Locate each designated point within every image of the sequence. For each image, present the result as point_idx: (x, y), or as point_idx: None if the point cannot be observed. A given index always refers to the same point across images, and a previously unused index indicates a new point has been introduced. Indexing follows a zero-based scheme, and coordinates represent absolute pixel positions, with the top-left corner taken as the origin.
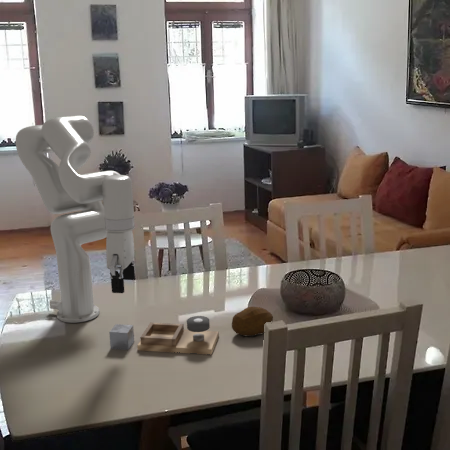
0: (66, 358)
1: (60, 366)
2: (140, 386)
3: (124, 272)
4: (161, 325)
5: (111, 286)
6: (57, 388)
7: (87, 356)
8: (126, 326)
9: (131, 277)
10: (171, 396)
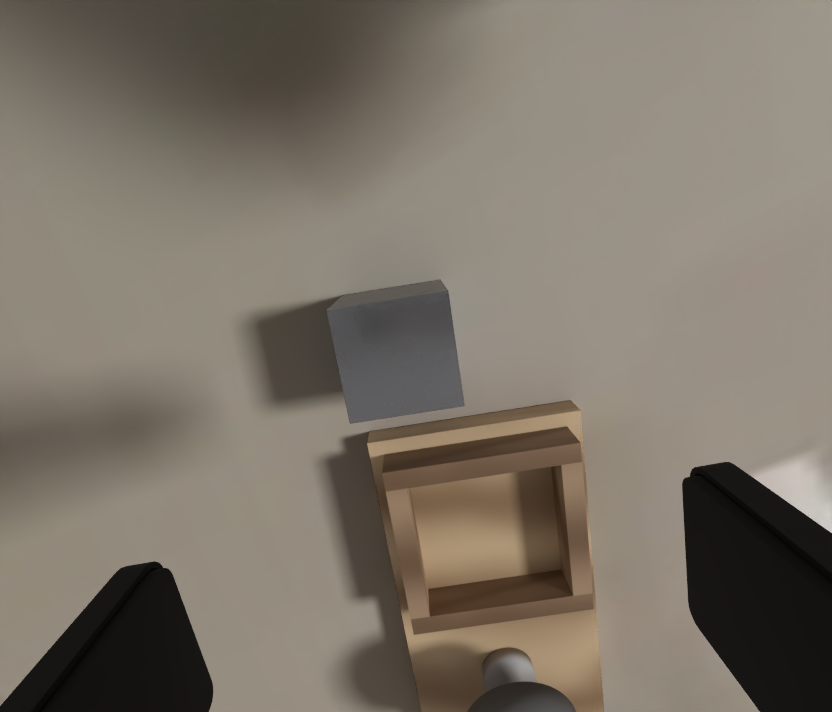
0: (157, 112)
1: (68, 134)
2: (88, 575)
3: (773, 579)
4: (563, 507)
5: (57, 640)
6: None
7: (223, 219)
8: (433, 376)
9: (711, 615)
10: None
